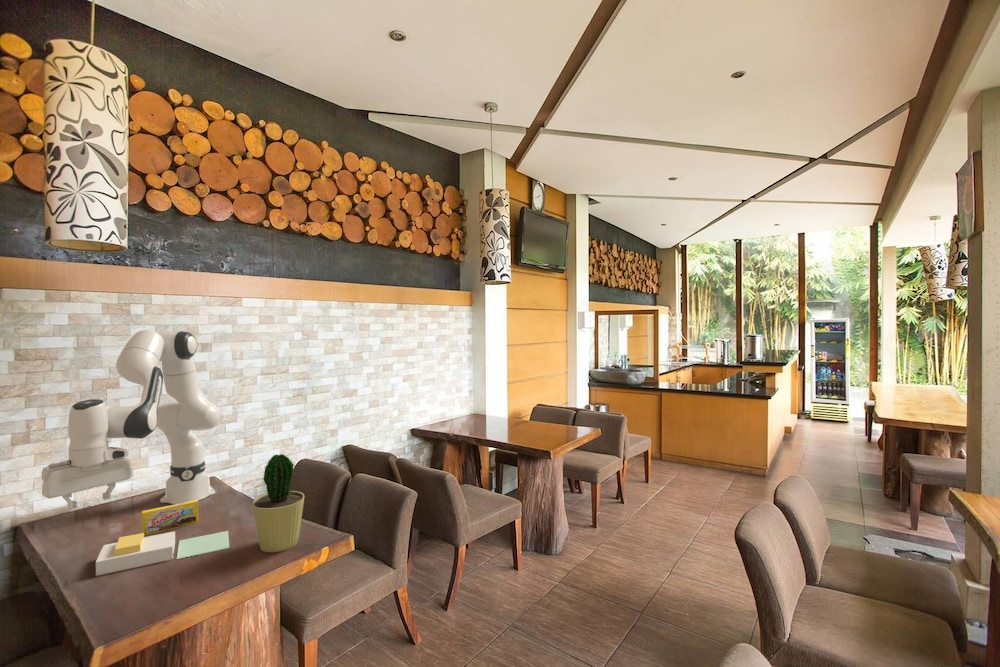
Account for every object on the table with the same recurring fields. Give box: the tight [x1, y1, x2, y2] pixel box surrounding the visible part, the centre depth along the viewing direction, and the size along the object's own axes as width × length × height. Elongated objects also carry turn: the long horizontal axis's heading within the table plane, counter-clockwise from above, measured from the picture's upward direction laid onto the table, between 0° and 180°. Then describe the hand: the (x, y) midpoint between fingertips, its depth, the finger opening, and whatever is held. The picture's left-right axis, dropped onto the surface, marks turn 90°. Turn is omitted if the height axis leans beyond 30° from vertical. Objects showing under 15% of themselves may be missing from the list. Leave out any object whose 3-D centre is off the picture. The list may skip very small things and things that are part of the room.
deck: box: [95, 531, 176, 577], centre depth 144 cm, size 12×18×4 cm, turn 122°
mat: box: [175, 530, 230, 561], centre depth 153 cm, size 14×14×1 cm
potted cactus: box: [251, 451, 305, 553], centre depth 153 cm, size 15×15×30 cm
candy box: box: [141, 500, 199, 537], centre depth 165 cm, size 16×2×8 cm, turn 132°
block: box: [114, 532, 145, 556], centre depth 143 cm, size 9×6×2 cm, turn 32°
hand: (90, 503), depth 138 cm, fingers open, 7 cm apart
